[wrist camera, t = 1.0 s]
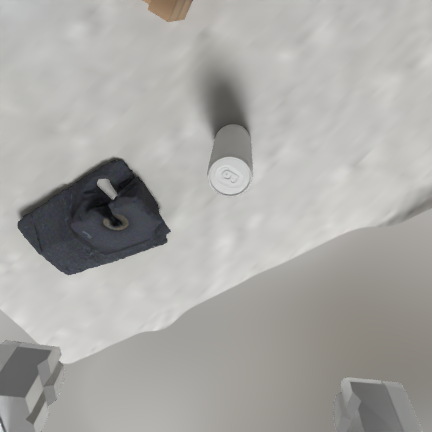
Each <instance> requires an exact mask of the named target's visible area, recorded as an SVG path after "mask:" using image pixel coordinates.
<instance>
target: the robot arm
mask: <svg viewBox="0 0 432 432" xmlns="http://www.w3.org/2000/svg"><path fill="white" fill-rule="evenodd" d="M60 357H61V351H60V347H55V346H47V345H39V344H32V343H24V342H16V341H7V340H5V341H4V342H3V343H1V344H0V432H41V431H42V429H43V427H44V425H45V423H46V421H47V419H48V417H49V411H48V406H49V405H50V404H52V403H53V402H54V401H56V400H57V398H58V396H59V393H60V392H61V389H62V385H63V382H64V375H65V373H64V372H65V371H64V365H63V364H62V363H61V362H60V361H59V359H60ZM341 389H342V392H341V393H339V394H337V395H336V398H335V401H334V409H333V415H334V423H335V428H336V431H337V432H423V430H422V428H421V426H420V423H419V421H418V419H417V417H416V414H415V412H414V410H413V407H412V405H411V403H410V401H409V398H408V396H407V394H406V391H405V389H404V387H403V386H402V385H401V384H400V383H397V382H386V381H380V380H370V379H360V378H349V377H345V378H344V379H343V380H342V382H341Z"/></svg>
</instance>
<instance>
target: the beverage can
mask: <svg viewBox="0 0 432 432" xmlns="http://www.w3.org/2000/svg"><path fill="white" fill-rule="evenodd" d="M207 174H208V180H209V183H210V186H211V187H212V189H213V190H214V191H215V192H217V193H218V194H220V195H222V196H226V197H235V196H238V195H241V194H242V193H244V192H245V191H246V190H247V189H248V188H249V186H250V184H251V182H252V178H253V164H252V147H251V138H250V136H249V134H248V132H247V130H246V129H244V128H243V127H242V126H240V125H236V124H230V125H226V126H224V127H223V128H221V129H220V130H219V131H218V133H217V135H216V137H215V141H214V145H213V149H212V154H211V158H210V162H209V167H208V173H207Z"/></svg>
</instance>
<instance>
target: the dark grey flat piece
mask: <svg viewBox="0 0 432 432" xmlns="http://www.w3.org/2000/svg"><path fill="white" fill-rule="evenodd" d="M104 178H106V179H109V180H110V183H111V184H112V186H113V187H114V189H115V190H116V191H117V192H118V196H117V197H115V199H114V200H111V199H110V198H109V197H108V196H107V195H106V194H105V193H104V192H103V191H102V190H101V189H100V188H99V187H98V186H97V181H98V179H104ZM131 178H133V179H131ZM18 229H19V230H20V231H21V233H22V234H23V236H24V237H25V238H26V239H27V240H28V241H29V243H30V244H31V245H32V246H33V247H34V248H35V250H36V251H37V252H38V253H39V254H40V255H42V256H43V257H44V258H45V259H46V260H47V261H49V262H50V263H51V264H52V265H54V266H55V267H56V268H57V269H58V270H60V271H61V272H64V273H65V274H67V275H72V274H76V273H79V272H82V271H84V270H86V269H88V268H94V267H98V266H100V265H103V264H107V263H111V262H114V261H117V260H119V259H124V258H125V257H128V256H131V255H134V254H136V253H140V252H142V251H146V250H148V249H150V248H154V247H157V246H159V245H163V244H165V243H167V239H166V234H168V233H169V232H171V231H170V229H169V228H168V227H167V225H166V224H165V222H164V220H163V219H162V217H161V216H160V214H159V210H158V205H157V203H156V201H155V200H154V198H153V196H152V195H151V194H150V192H149V191H148V189H147V187H146V186H145V184H144V183H143V182H142V181H139V180H138V177H134V174H133V172H132V170H130V171H129V169H128V167H127V166H126V165H125V164H124V162H123V161H112V162H111V163H110V164H108V165H104V166H102V167H100V168H99V169H98V170H96V171H95V172H93V173H91V174H89V175H88V176H86V177H84V178H83V179H81V180H80V181H79V182H76V183H75V184H73V186H70V187H69V188H68V189H67V190H63V191H62V192H61V193H59V194H57V195H55V196H54V197H52V198H51V199H50V200H49V201H48V202H47V203H45V204H43V205H42V206H41V207H39V208H37V209H36V210H35V211H34V212H32V213H30V214H27V215H25V216H24V217H23V218H22V219H21V220H20V221H18Z"/></svg>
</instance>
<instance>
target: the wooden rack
mask: <svg viewBox="0 0 432 432" xmlns="http://www.w3.org/2000/svg"><path fill="white" fill-rule="evenodd" d="M143 1H144V2H146V3H148V4H149V7H148V10H149V11H151V12H153V13H154V14H156V15H157V16H159V17H161V18H162V19H164V20H166V21H167V22H171V21H177V20H184V19H185V16H186V14H187V12H188V10H189V7H190V5H191V3H192V1H193V0H143Z"/></svg>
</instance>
